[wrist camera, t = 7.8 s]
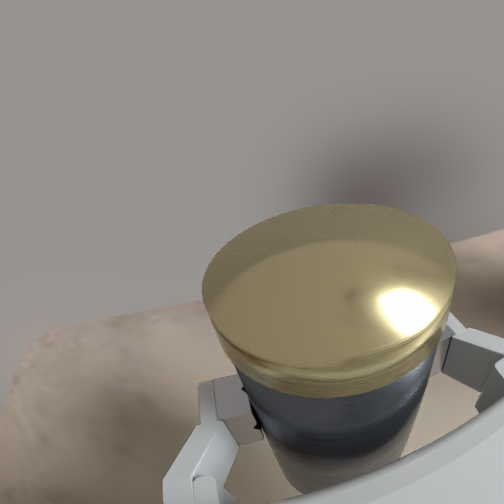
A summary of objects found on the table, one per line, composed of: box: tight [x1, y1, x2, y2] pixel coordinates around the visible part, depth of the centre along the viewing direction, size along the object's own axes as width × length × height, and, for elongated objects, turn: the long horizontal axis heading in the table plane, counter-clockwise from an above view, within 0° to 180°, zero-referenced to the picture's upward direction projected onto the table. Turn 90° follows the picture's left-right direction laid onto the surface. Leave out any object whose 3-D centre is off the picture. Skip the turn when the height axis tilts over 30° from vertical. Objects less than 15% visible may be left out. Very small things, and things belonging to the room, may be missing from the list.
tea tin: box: [202, 203, 456, 494], centre depth 9 cm, size 6×6×10 cm
